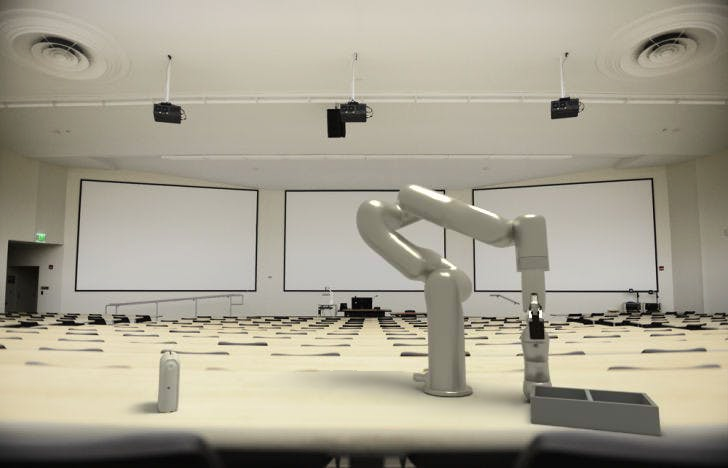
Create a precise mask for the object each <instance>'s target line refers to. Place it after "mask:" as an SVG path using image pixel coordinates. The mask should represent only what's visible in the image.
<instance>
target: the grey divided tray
mask: <svg viewBox="0 0 728 468" xmlns="http://www.w3.org/2000/svg"><path fill="white" fill-rule="evenodd" d="M529 402H530V404H529V405H530V408H529V409H530V423H531V424H536V425H547V426H557V427H567V428H568V427H569V428H577V429H586V430H587V429H588V430H596V431H597V430H598V431H607V432H608V431H609V432H611V431H612V432H618V433H628V434H629V433H631V434H637V435H638V434H639V435H641V434H642V435H650V436H660V437H661V436H662V433H661V431H662V430H661V422H660V421H661V420H660V409H659V408H660V407H659V406H658V405H657V403H655V402H654V401H653V400H652V398H651V397H650V396H649V395H648V393H646V392H639V391H638V392H637V391H620V390H607V389H595V388H594V389H592V388H578V387H563V386H553V385H552V386H537V385H532V387H531V394H530V400H529Z"/></svg>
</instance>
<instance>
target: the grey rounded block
mask: <svg viewBox="0 0 728 468" xmlns="http://www.w3.org/2000/svg"><path fill="white" fill-rule="evenodd" d="M179 356H180V355H179V354H178V353H177V352H176V351H174V350H173V351H165V352H164V353H162V355H161V356H160V358H159V367H158V368H159V369H158V370H159V371H158V372H159V373H158V391H157V392H158V395H157V407H158V411H159V413H162V412H169V413H172V412H171V411H174V412H176V411H177V410H178V409H179V402H180V380H181V359H180V357H179Z"/></svg>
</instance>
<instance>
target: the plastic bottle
mask: <svg viewBox="0 0 728 468" xmlns="http://www.w3.org/2000/svg"><path fill="white" fill-rule="evenodd" d="M539 317H540V315H539ZM529 322H530V319H529V314H525V323H526V326H525V327H524V329H523V330H522V332H521V334H520V344H521V349H522V355H523V363H524V364H523V365H524V368H523V369H524V371H523V372H524V374H523V381H522V382H523V383H522V392H523V397H525V399H527V401H530V394H531V387H532V385H537V386H552V387H553V384H552V381H551V375H550V367H549V352H550V341H551V340H550V335H549V333H548V332H547V330H546V328H545V329H544V334H545V339H544V340H532V339H530V333H529ZM542 322H543V321H542Z"/></svg>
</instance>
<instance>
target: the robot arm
mask: <svg viewBox="0 0 728 468" xmlns="http://www.w3.org/2000/svg"><path fill="white" fill-rule="evenodd" d="M355 218H356V219H355V220H356V228H357V230H358V235H359V236H360V238H361V239H362V241H363V242H364V243H365V244H366V245H367V246H368V247H369V248H370V249H371V250H372V251H374V252H375V253H376V254H377V255H378V256H379V257H381V259H383V260H385V262H386V263H388V264H389V265H391V266H392V267H393V268H394V269H396V271H398V272H399V273H400V274H401V275H402V276H403V277H405V278H406V279H408V280H411V281H413V282H414V281H416V282H422V283H423V284H424V287H423V288H424V289H423V291H424V292H423V293H424V294H423V295H424V300H425V302H424V303H425V306H426V317H427V318H426V319H427V322H426V323H427V350H428V351H427V353H428V354H427V355H428V358H427V360H428V361H427V363H428V365H427V366H428V371H427V372H425V373H420V372H419V373H418V372H417V373H416V372H414V373H412V379H413V381H414V382H418V383H419V382H420V383H421V382H422V383H424V385H422V391H423V392H424V393H426V394H429V395H433V396H440V397H462V396H463V397H464V396H467V395H468V396H469V395H471V394H473V387H472V386H471V385H469V384H467V376H466V375H467V372H466V369H467V368H466V367H467V366H466V341H465V339H466V338H465V337H466V335H465V320H464V318H465V315H464V311H463V310H464V309H463V304H462V303H464V302H466V301H467V300H469V299H470V297H471V296H472V292H473V283H472V280H471V278H470V276H469V275H468V274H467V273H466V272H464V271H463V270H461V269H460V268H459V267H457V266H456V265H455V264H453V263H452V262H451V261H449V260H448V259H446V258H445V257H444V256H442V254H439V253H438V252H436V251H434V250H432V249H429V248H425V247H421V246H418V245H416V244H414V243H413V242H411V241H410V240H409V239H407V238H405V236H403V235H402V234H401V233H399V232H398V230H400V229H403V228H406V227H407V226H411V225H413V224H415V223H418V222H420V221H422V220H424V221H426V222H429V223H431V224H434V225H436V226H439V227H441V228H443V229H446V230H451V231H454V232H456V233H459V234H461V235H463V236H466V237H469V238H471V239H472V240H473V239H474V240H476V241H478V242H481V243H483V244H484V245H485V244H486V245H489V246H491V247H495V248H498V249H503V248H504V249H505V248H509V247H513V246H514V248H515V266H516V273H521V276H520V279H521V280H520V281H521V296H522V297H521V298H522V299H521V300H522V312H523V313H525V314H526V313H529V314H528V315H529V319H530V322H529V333H530V339H532V340H544V339H545V334H544V329H545V330H546V328H545V319H544V317H543V313H544V312H546V302H547V301H546V292H547V291H546V277H545V272H549V271H550V259H549V257H550V256H549V247H548V246H549V245H548V233H547V221H546V218H545V217H544V215H543V214H542V215H541V214H537V213H533V214H532V213H531V214H530V213H529V214H524V215H523V214H521V215H519V216H516V217H515V218H514V219H508V218H505V217H503V216H501V215H498V214H497V213H493V212H491V211H487V210H486V209H482V208H481V207H480V208H479V207H477V206H475V205H471V204H468V203H467V202H464V201H461V200H460V199H459V198H455V197H454V196H450V195H447V194H444V193H442V192H440V191H438V190H437V191H436V190H434V189H431V188H429V187H425V186H424V185H420V184H418V183H409V184H405V185H403V186H402V187H401V188H400V189H399V191H398V194H397V199H396V201H395V202H389V201H386V200H383V199H378V198H370V199H367V200H366V199H365V200H364V201H363V202H361V203H360V205H359V207H358V209H357V211H356V217H355ZM539 315H540V317H539ZM542 321H543V322H542Z"/></svg>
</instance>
